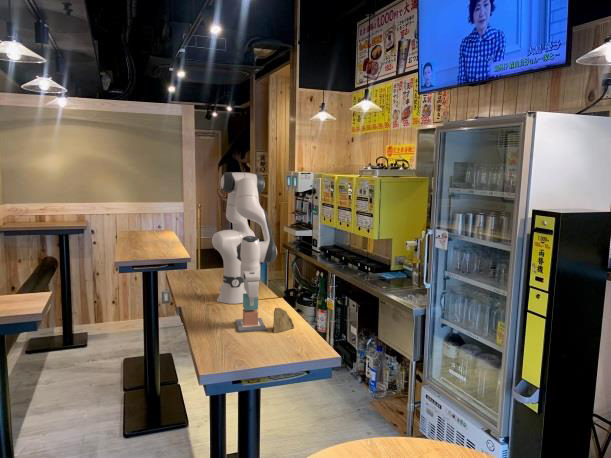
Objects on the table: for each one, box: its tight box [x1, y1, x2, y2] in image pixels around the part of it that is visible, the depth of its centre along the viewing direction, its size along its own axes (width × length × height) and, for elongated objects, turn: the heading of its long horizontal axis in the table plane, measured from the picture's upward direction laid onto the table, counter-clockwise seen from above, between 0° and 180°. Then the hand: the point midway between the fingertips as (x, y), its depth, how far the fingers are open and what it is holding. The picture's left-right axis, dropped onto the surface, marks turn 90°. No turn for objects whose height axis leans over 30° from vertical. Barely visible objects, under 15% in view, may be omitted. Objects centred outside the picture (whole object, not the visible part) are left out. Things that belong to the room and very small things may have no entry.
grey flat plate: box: [235, 317, 267, 334], centre depth 207 cm, size 16×12×1 cm
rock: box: [272, 307, 295, 334], centre depth 202 cm, size 11×9×10 cm
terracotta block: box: [242, 308, 259, 326], centre depth 207 cm, size 6×6×6 cm
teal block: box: [242, 293, 259, 311], centre depth 206 cm, size 6×6×6 cm
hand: (250, 303), depth 206 cm, fingers closed on teal block, 6 cm apart
